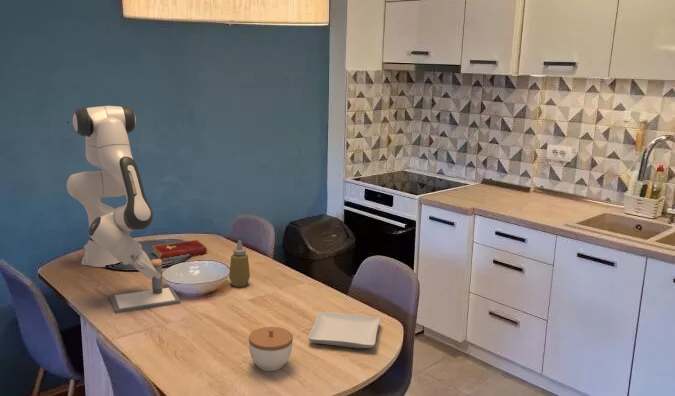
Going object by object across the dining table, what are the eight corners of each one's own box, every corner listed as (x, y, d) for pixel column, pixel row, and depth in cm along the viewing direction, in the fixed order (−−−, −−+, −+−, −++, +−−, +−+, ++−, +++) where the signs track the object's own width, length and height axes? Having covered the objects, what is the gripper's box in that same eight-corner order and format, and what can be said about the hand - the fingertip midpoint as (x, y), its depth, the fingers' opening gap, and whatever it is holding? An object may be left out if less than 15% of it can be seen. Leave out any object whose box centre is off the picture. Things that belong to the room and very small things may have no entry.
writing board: (110, 298, 214) (110, 295, 213) (171, 289, 224) (171, 286, 223) (115, 313, 202) (115, 310, 201) (180, 303, 212) (180, 300, 211)
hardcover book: (207, 255, 263) (207, 246, 262) (160, 262, 252) (159, 253, 251) (197, 247, 273) (197, 239, 272) (151, 254, 262) (151, 245, 261)
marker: (151, 290, 218) (150, 259, 215) (161, 288, 220) (160, 258, 217) (153, 294, 215) (152, 262, 212) (163, 292, 216) (162, 261, 214)
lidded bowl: (293, 354, 179) (293, 320, 176) (291, 376, 167) (291, 340, 164) (251, 353, 178) (251, 320, 176) (246, 375, 166) (246, 339, 164)
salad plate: (319, 319, 204) (319, 310, 204) (380, 325, 201) (380, 316, 201) (306, 347, 184) (306, 337, 183) (374, 355, 181) (375, 345, 180)
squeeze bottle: (248, 289, 227) (248, 244, 223) (227, 288, 227) (226, 243, 223) (251, 281, 235) (251, 238, 230) (231, 280, 235) (231, 237, 230)
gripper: (140, 254, 201) (170, 277, 207) (131, 237, 218) (159, 259, 225) (127, 268, 200) (158, 291, 206) (119, 250, 217) (147, 271, 224)
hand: (158, 274), depth 216 cm, fingers closed on marker, 4 cm apart
